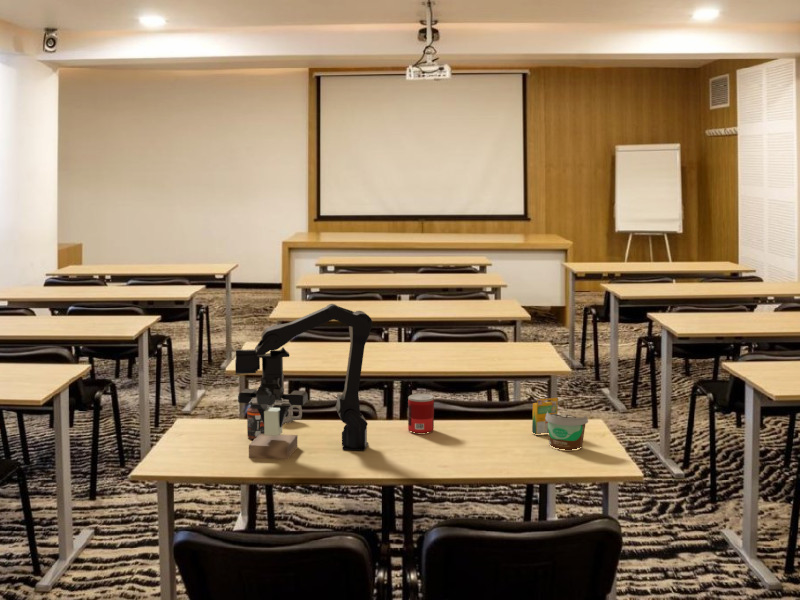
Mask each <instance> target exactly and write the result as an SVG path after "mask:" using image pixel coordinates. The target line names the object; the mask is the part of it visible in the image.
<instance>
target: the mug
mask: <svg viewBox="0 0 800 600" xmlns="http://www.w3.org/2000/svg"><path fill="white" fill-rule="evenodd" d="M281 404H282V400H275V403H274V404H273V405H271V408H280V405H281ZM293 408H296V409H298V415H297V416H295V415H294V413H293V412H294V409H293ZM302 417H303V410H302V405H292V406H291V407H289V409H288V411H287V414H286V417H285V420H284V422H283V425H285V423H286V424H290V423H292V422H294V421H296V420H301V419H302Z"/></svg>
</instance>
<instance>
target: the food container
mask: <svg viewBox="0 0 800 600" xmlns="http://www.w3.org/2000/svg"><path fill="white" fill-rule="evenodd" d="M545 419H546V420H547V421H548V432H549V435H548V443H549V444H550V445H551V446H553V447H555V448H559V449H565V450H572V449H577V448H580V447H582V448H583V444H584V437H585V429H586V424H588V423H589V419H588V416H587V414H585V415H584V416H582V417H581V416H576V415H575V416H574V415H571V414H557V415H553V414H549V413H548V411H547V413H546V417H545ZM550 445H549V446H550Z"/></svg>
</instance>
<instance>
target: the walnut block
mask: <svg viewBox="0 0 800 600" xmlns="http://www.w3.org/2000/svg"><path fill="white" fill-rule="evenodd" d="M297 448H298V434H282V433H281V434H280V435H279V436H265V434H262V433H260V434H259V435H258V436H257V437H256V438H255V439H252V441H251V442H250V443H249V445H248V458H249V459H263V460H264V459H268V460H284V461H285V460H289V458H290V457H291V456H292V455H293V454H294V452H295V451H296V450H297Z"/></svg>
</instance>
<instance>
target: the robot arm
mask: <svg viewBox="0 0 800 600" xmlns="http://www.w3.org/2000/svg"><path fill="white" fill-rule="evenodd" d="M332 320H333V321H337V322H339V323H341V324H344V325H346V326H348V332H349V338H350V339H349V340H350V344H349V352H348V360H347V367H346V375H345V382H344V389H343V392H342V394H337V395H336V405H335V406H334V408H335V410H336V413H337V414H338V417H339V418H340V421H341V422H342V423H343V424H345V425H344V427H343V430H342V432H341V447H342V448H341V449H342V450H344V451H366V449H367V447H368V445H369V442H368V439H367V438H368V436H367V435H368V430H367V429H368V424H369V423H368V421H367V420H366V418H365V417H364V415H363V414H362V413H361V405H360V397H359V389H360V382H361V375H362V366H363V362H364V351H365V347H366V343H367V342H368V339H369V337H370V333H371V332H372V328H373V320H372V317H370V316H369V315H368V314H367V313H366V312H365V311H362V310H356V311H353V310H351V309H348V308H345V307H342V306H339V305H337V304H336V303H330V304H327V306H325V307H322V308H320V309H318V310H316V311H313V312H312V313H309V314H306V315H304V316H302V317H300V318H297V319H295V320H293V321H291V322H287V323H281V324H276V325H275V324H274V325H272V326H269V327H266V328H265V329H264V330H263V331H262V333H261V339H260V341H259V342H258V343H257V345H256V346H255V347H254V349H253V348H252V349H242V348H237V349H235V360H234V362H235V364H234V365H235V375H242V374H243V375H247V374H256V373H257V372H258V371H259V370H260V369H261V373H262V377H260V385H259V387H258V388H244V389H243V390H241V391H240V392H239V393H238V395H237V402H238V403H239V404H250V401H251V400H252V404H251V405H252V406H255V407H256V408H257V409H258V411H259V413H260V415H261V418H262V420H263V423H264V411H265V410H266V409H267V408H268V406H272V405H273V404H274V403H275V400H282V404H281V405H280V422H279V423H280V427H282V428H283V425H284V424H283V422H284V420H285V417H286V414H287V411H288V409H289V407H291V406H292V405H300V406H304V405H305V403H307V402H308V400H309V399H308V398H309V397H308V396H309V395H308V393H307V391H305V390H292V391H291V393H284V392H285V388H284V378H285V374H284V364H283V363H284V358H289V357H290V353H289V351H288V350H286V349H285V347H283V346H285V345H287V344H288V343H289V342H290V341H291V340H293V339H294V338H295V337H297V336H299V335H302V334H303V333H306V332H308V331H310V330H312V329H315V328H317V327H320V326H322V325H324V324H326V323H328V322H331V321H332ZM268 352H269V353H268ZM260 359H261V360H260ZM261 367H262V368H261ZM251 405H250V406H251Z"/></svg>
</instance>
